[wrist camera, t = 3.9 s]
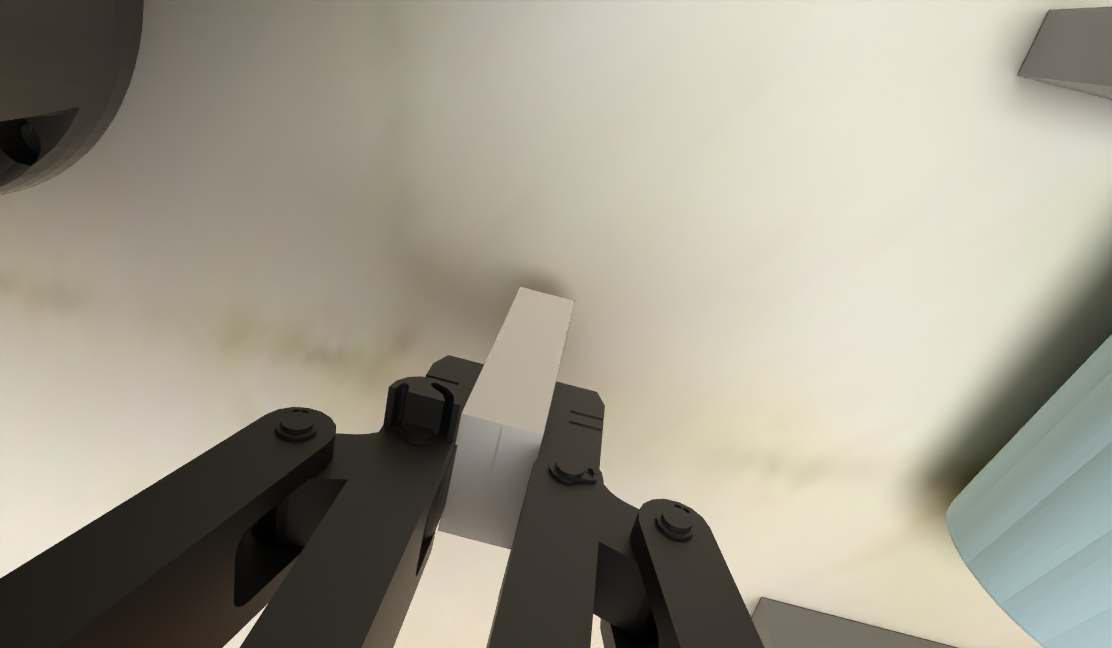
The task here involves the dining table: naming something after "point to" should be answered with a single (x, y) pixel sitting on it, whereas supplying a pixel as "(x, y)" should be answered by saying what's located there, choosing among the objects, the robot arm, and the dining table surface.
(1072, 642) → the cup
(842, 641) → the lane
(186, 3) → the dining table surface
